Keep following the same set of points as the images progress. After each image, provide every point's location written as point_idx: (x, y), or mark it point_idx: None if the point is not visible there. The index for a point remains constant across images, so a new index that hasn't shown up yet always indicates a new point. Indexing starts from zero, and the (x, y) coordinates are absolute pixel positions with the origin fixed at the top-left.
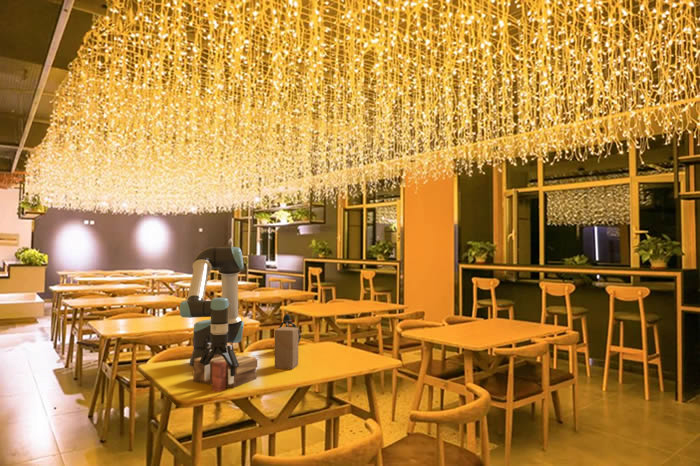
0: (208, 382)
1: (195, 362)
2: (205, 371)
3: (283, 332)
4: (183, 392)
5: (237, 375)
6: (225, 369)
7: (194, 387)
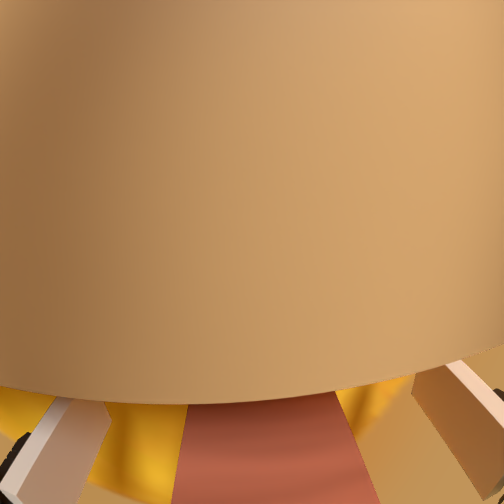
0: None
1: None
2: (79, 489)
3: None
4: (102, 461)
5: None
6: (360, 458)
7: None
